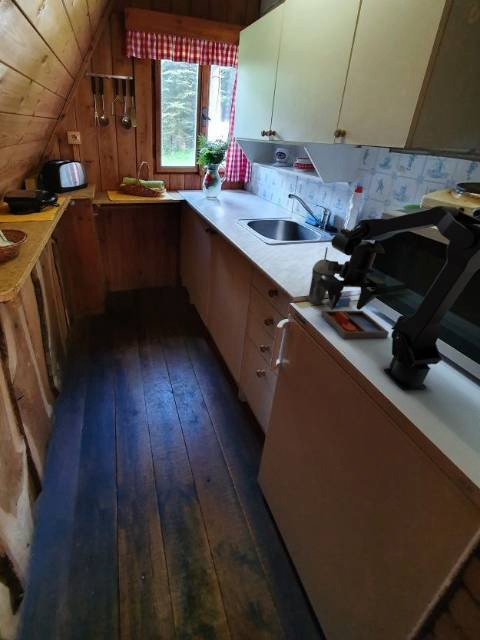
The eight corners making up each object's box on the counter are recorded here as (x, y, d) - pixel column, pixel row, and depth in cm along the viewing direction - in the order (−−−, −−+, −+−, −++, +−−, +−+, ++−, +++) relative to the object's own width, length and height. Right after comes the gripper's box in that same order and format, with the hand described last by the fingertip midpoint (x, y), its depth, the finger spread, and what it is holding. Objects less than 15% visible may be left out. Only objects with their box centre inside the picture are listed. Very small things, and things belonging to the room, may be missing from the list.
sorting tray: (386, 338, 90) (389, 332, 89) (343, 339, 87) (345, 333, 87) (360, 315, 101) (362, 310, 100) (320, 316, 98) (322, 310, 97)
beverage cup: (329, 307, 104) (346, 253, 96) (308, 305, 103) (323, 250, 96) (321, 296, 110) (336, 245, 103) (301, 294, 110) (315, 242, 103)
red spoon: (330, 318, 96) (333, 310, 95) (341, 318, 97) (344, 310, 96) (346, 333, 89) (349, 325, 88) (357, 333, 90) (360, 325, 89)
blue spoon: (344, 302, 108) (346, 295, 107) (351, 307, 105) (353, 300, 104) (324, 302, 107) (327, 295, 106) (331, 307, 104) (333, 300, 102)
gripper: (369, 252, 96) (354, 295, 102) (316, 250, 92) (303, 295, 98) (397, 267, 86) (378, 314, 92) (338, 265, 82) (322, 314, 88)
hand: (344, 309), depth 93 cm, fingers open, 9 cm apart
